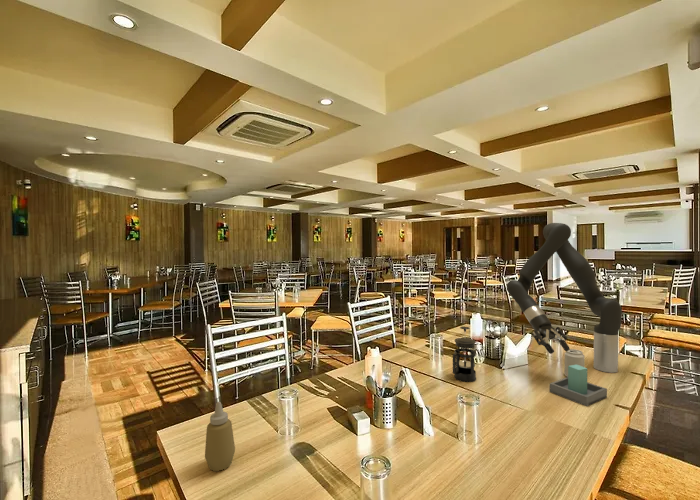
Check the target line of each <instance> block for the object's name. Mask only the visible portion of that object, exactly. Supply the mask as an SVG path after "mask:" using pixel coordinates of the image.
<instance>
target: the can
mask: <svg viewBox="0 0 700 500" xmlns="http://www.w3.org/2000/svg"><path fill="white" fill-rule="evenodd" d="M585 360H586V359H585V354H584V352H583V351H582V350H580V349H575V348H570V349H569V350H568V351H565V352H564V365H563V366H564V367H563V369H564V372H563V373H564V375H565V376H566V377H568V366H571V365H579V366H582V367H585ZM566 377H565V378H566Z"/></svg>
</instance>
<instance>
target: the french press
mask: <svg viewBox="0 0 700 500" xmlns="http://www.w3.org/2000/svg"><path fill="white" fill-rule="evenodd" d="M459 329H461V330H463V332H464V333H466V332H467V330H470V329H471V328H470V327H469V326H466V325H465V326H460V327H459ZM454 342H455V346H456V347H458V348H455V349H454V353H452V374H454V375H453V377H454V379H455V380H456V381H458V382H461V383H473V382H476V381H477V374H476V373H477V372H476V370H475V367H476V363H475V357H476V355H477V353H476V350H473V348H475V344H476V342H477V341H476V340H475V339H473V338H468V337H457V338H455V339H454ZM461 352H465V353H467V352H468V353H470V354H462V353H461ZM460 358H463V359H464V360H461V359H460ZM466 359H470V361H469V360H466Z"/></svg>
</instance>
